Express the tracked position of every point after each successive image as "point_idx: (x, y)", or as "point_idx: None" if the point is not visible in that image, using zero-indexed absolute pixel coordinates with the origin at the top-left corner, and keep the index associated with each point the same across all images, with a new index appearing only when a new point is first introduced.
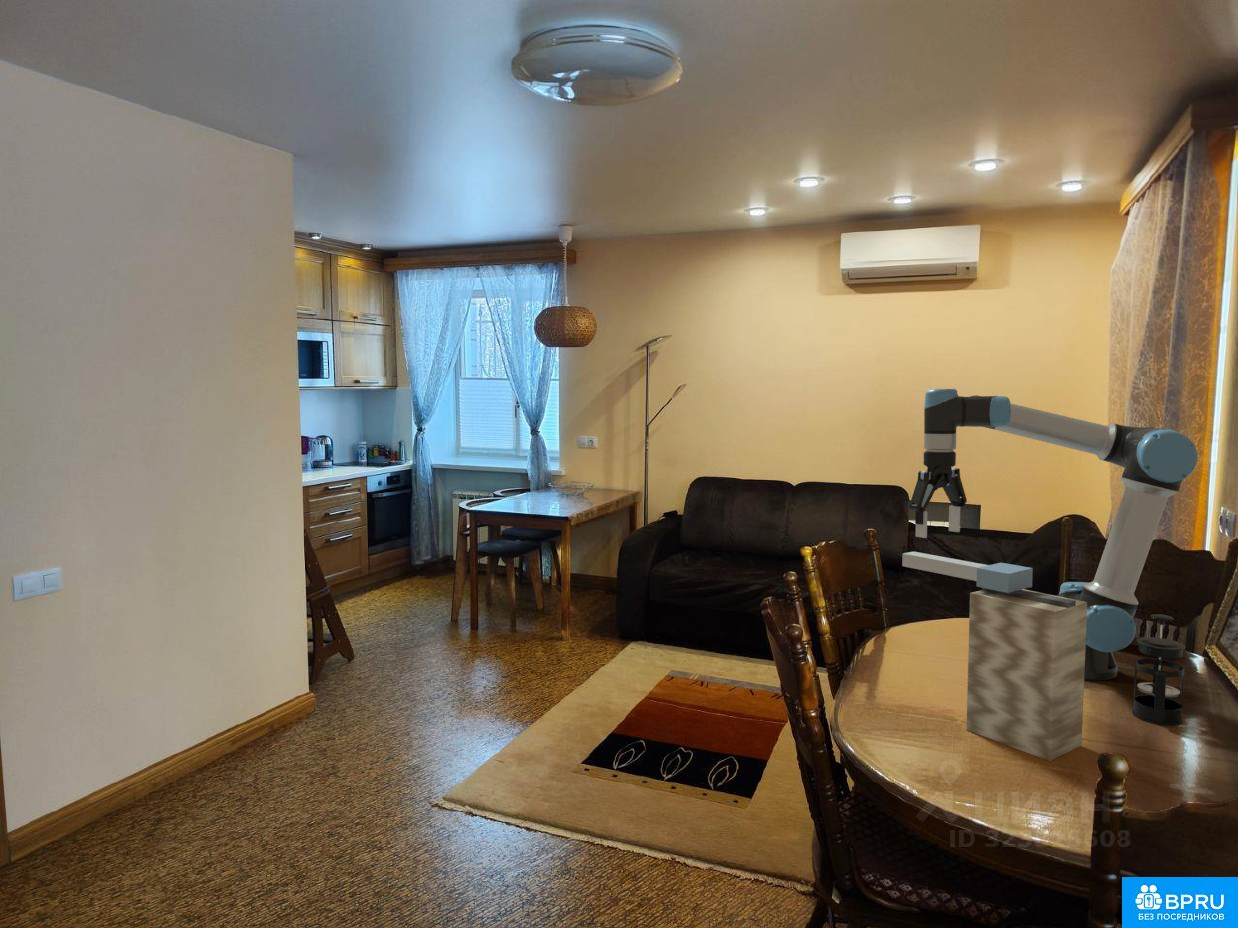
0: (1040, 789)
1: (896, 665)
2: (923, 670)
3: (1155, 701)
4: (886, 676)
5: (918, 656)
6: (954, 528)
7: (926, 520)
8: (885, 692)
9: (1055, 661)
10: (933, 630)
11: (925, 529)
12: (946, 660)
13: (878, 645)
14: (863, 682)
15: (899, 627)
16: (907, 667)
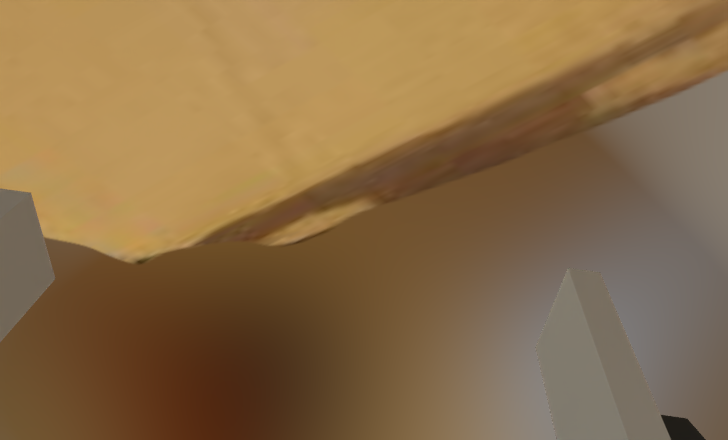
0: None
1: (388, 108)
2: (369, 33)
3: None
4: (495, 82)
5: (270, 104)
6: (21, 247)
7: (645, 431)
8: (631, 13)
9: None
10: (45, 182)
11: (619, 338)
12: (234, 30)
13: (278, 217)
14: (586, 100)
15: (109, 249)
16: (380, 79)
